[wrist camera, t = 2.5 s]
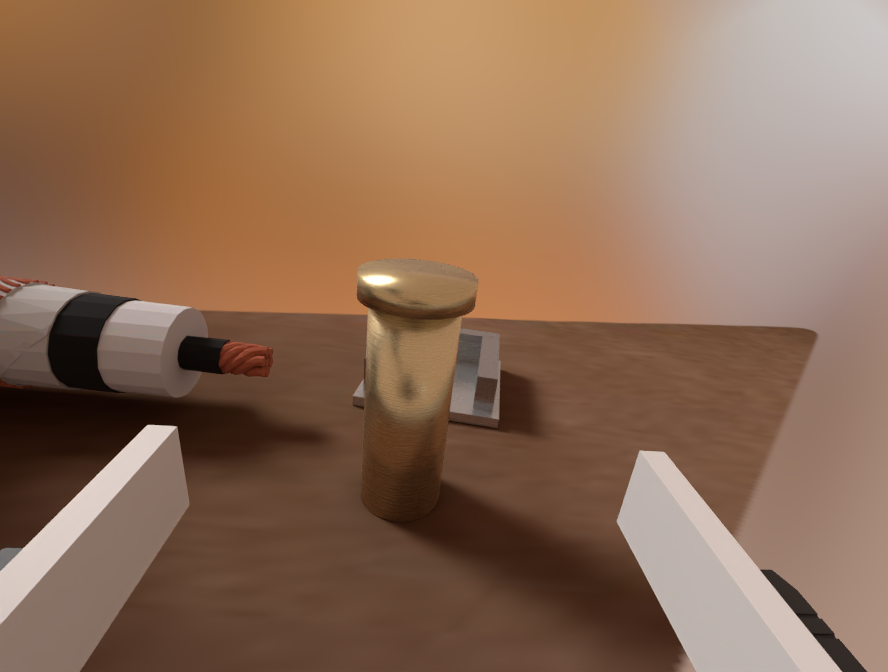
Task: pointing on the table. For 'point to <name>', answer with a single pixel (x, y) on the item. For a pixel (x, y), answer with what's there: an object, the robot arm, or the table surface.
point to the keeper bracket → (469, 380)
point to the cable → (110, 343)
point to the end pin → (409, 379)
